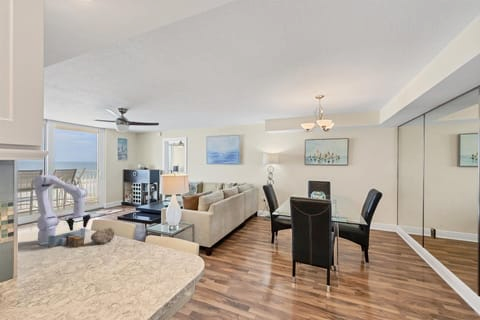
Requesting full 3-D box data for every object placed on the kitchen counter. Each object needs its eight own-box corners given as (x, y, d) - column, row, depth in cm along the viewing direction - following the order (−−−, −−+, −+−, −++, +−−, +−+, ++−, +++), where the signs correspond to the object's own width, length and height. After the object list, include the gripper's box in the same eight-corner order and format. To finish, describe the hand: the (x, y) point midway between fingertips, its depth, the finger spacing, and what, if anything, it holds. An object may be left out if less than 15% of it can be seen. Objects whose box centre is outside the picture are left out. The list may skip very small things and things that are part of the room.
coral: (98, 247, 130) (93, 232, 131) (91, 249, 134) (86, 234, 135) (119, 237, 142) (114, 223, 143) (112, 239, 147) (107, 226, 147)
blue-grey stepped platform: (48, 247, 128) (48, 236, 129) (83, 237, 146) (83, 227, 146) (52, 248, 126) (52, 237, 126) (87, 238, 144) (87, 228, 144)
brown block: (66, 243, 134) (66, 236, 134) (72, 242, 137) (72, 234, 138) (77, 247, 129) (78, 239, 129) (83, 245, 132) (84, 237, 132)
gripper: (69, 210, 128) (68, 232, 127) (94, 206, 141) (93, 226, 140) (63, 209, 131) (62, 231, 130) (88, 205, 144) (87, 225, 143)
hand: (78, 228), depth 136 cm, fingers open, 7 cm apart
